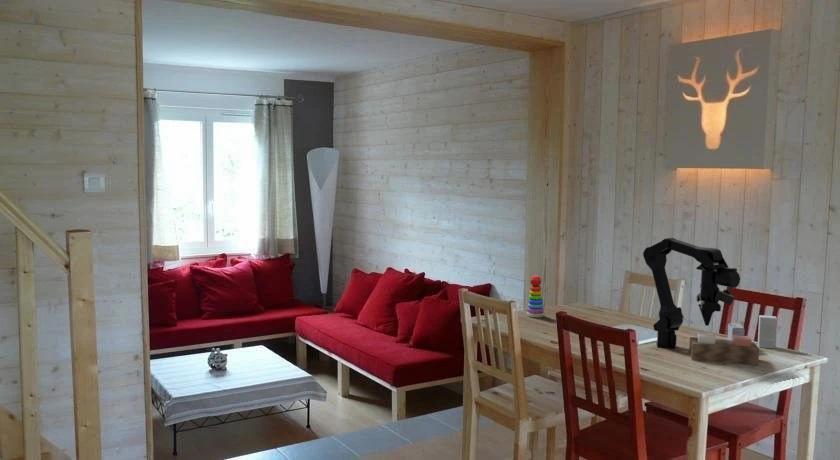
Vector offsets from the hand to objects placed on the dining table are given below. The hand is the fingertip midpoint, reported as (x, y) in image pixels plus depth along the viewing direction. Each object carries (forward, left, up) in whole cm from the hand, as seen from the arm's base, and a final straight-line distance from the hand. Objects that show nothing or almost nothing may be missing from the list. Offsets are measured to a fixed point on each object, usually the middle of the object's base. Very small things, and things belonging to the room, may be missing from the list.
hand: (706, 325), depth 258 cm
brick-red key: (+12, 0, -7) cm, 14 cm away
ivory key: (0, 0, -7) cm, 7 cm away
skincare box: (+25, +24, -12) cm, 37 cm away
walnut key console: (+6, 0, -12) cm, 13 cm away
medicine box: (+13, +19, -12) cm, 26 cm away
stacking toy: (-67, +48, -12) cm, 83 cm away
